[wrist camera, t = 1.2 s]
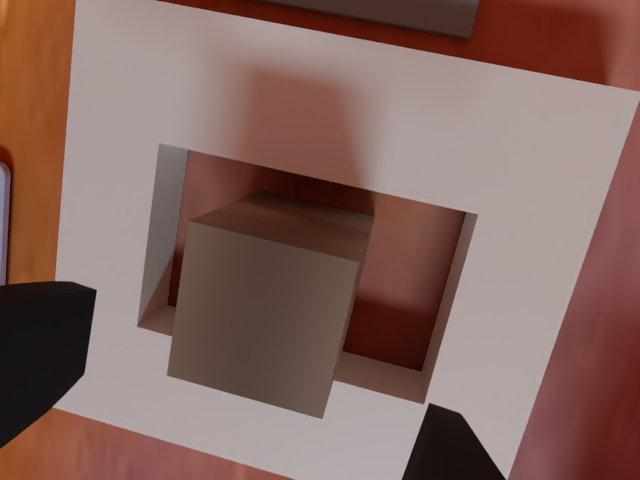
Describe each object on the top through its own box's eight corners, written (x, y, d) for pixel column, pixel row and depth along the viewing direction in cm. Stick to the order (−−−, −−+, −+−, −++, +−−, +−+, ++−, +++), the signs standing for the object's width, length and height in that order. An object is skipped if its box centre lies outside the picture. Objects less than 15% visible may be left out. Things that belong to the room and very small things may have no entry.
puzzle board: (83, 376, 23) (45, 405, 20) (119, 4, 19) (77, -15, 16) (477, 489, 21) (487, 536, 18) (607, 98, 17) (642, 92, 14)
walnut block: (244, 295, 21) (166, 375, 14) (263, 190, 19) (188, 220, 13) (349, 322, 20) (322, 419, 13) (374, 216, 19) (358, 262, 12)
